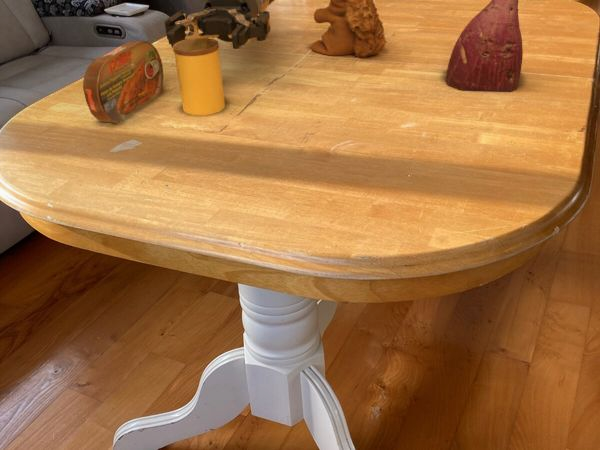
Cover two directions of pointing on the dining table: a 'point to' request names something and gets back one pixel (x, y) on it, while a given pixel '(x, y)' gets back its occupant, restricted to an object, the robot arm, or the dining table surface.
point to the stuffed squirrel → (350, 29)
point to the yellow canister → (199, 75)
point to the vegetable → (488, 51)
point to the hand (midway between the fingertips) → (203, 40)
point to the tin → (123, 80)
